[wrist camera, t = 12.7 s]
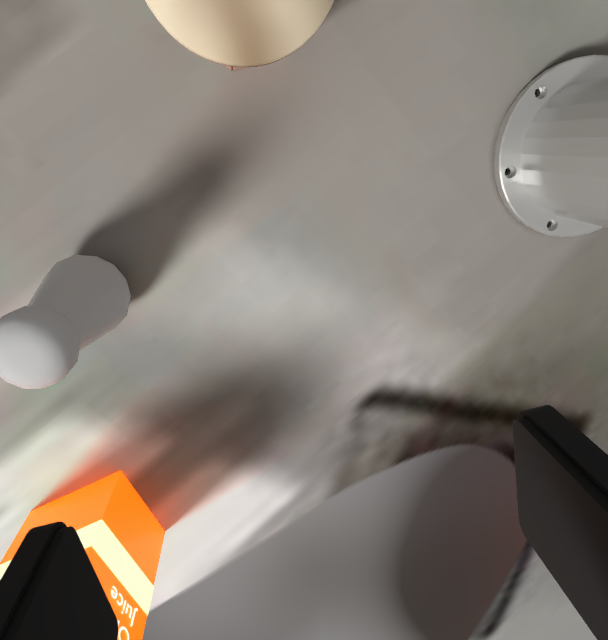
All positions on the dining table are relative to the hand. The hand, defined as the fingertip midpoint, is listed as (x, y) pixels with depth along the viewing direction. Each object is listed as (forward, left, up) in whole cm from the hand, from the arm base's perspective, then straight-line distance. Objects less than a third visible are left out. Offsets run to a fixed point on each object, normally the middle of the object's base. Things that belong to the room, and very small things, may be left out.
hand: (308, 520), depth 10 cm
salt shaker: (+13, -1, -29) cm, 32 cm away
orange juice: (+21, +19, -29) cm, 41 cm away
